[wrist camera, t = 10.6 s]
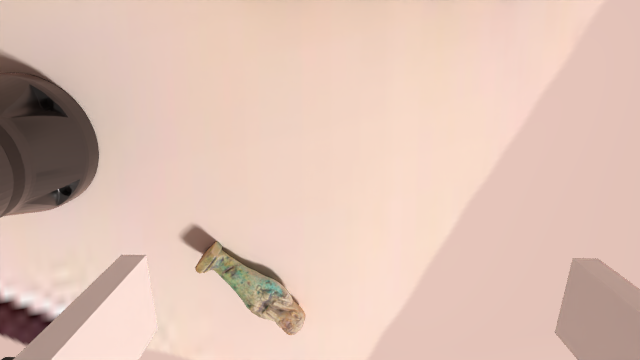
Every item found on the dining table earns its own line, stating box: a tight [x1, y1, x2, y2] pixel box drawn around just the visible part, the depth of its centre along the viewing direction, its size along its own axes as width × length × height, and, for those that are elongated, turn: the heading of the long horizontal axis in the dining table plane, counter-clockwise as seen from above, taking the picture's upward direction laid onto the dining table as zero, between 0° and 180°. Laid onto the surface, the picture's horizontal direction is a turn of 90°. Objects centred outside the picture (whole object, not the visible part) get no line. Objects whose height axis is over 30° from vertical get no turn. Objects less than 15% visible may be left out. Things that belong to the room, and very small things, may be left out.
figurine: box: [195, 242, 305, 335], centre depth 46 cm, size 6×15×4 cm, turn 40°
